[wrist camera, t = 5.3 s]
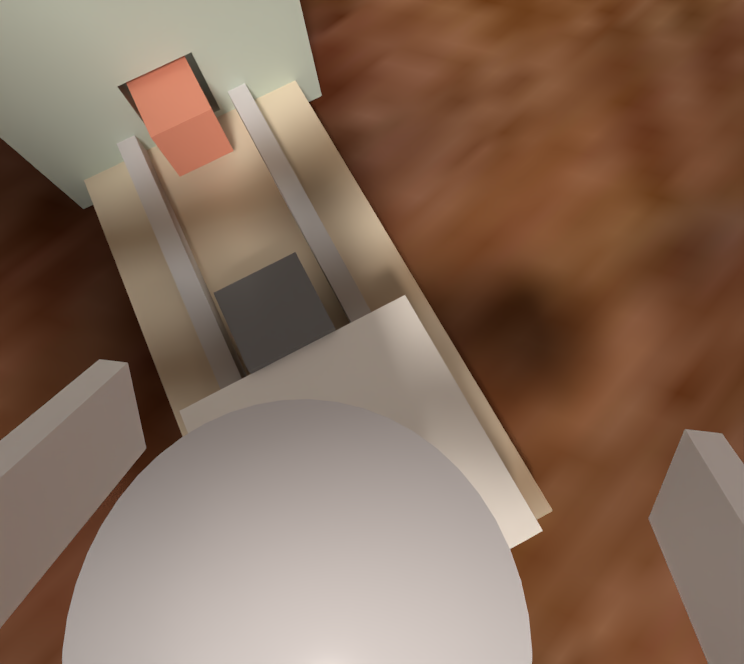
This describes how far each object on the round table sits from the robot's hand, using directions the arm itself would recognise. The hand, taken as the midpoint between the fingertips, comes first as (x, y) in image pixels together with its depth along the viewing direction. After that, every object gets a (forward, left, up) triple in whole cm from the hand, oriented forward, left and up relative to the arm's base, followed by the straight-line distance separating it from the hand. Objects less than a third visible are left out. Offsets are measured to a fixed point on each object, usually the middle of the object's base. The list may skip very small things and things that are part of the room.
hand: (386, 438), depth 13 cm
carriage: (-2, -1, -4) cm, 5 cm away
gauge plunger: (-16, -1, -5) cm, 16 cm away
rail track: (-6, -1, -7) cm, 9 cm away
